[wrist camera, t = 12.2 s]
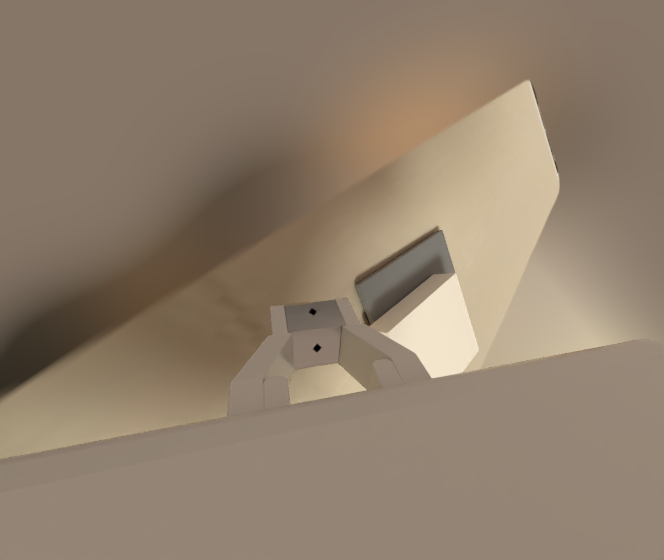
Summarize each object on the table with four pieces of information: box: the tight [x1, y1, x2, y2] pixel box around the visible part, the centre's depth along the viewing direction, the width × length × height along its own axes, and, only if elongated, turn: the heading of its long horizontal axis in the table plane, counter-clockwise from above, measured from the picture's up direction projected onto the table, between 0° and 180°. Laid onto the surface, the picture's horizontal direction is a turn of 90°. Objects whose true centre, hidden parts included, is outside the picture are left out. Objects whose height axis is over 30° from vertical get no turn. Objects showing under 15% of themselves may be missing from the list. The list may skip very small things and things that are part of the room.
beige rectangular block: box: [369, 273, 479, 378], centre depth 26 cm, size 3×9×11 cm
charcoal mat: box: [355, 230, 455, 325], centre depth 29 cm, size 14×14×1 cm
